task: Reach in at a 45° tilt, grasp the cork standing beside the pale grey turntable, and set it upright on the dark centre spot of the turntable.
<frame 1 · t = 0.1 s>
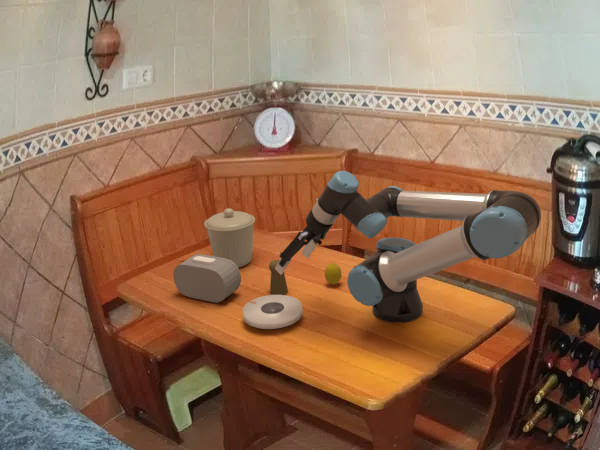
hand: (291, 263, 207), 15 cm above the table, tool tilted 35°, fingers open, 13 cm apart
lemon: (333, 285, 226), on the table
alarm clock: (209, 295, 225), on the table
turntable stand: (273, 319, 206), on the table
cork: (279, 292, 224), on the table
canister: (234, 263, 248), on the table
turntable: (272, 310, 205), point 3 cm above the table, hinge at 0.0°
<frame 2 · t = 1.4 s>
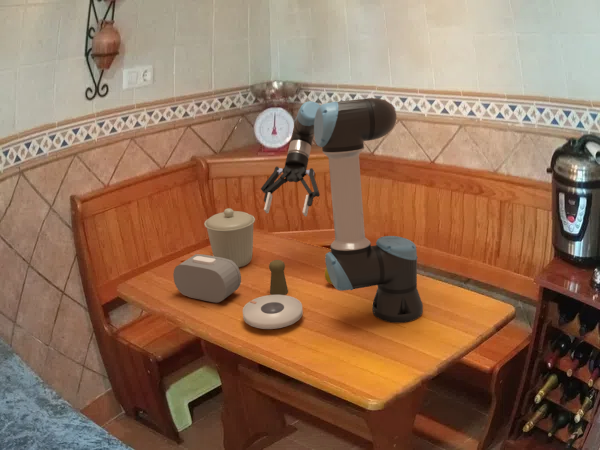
hand: (285, 213, 224), 24 cm above the table, tool tilted 45°, fingers open, 13 cm apart
nothing on the table moved.
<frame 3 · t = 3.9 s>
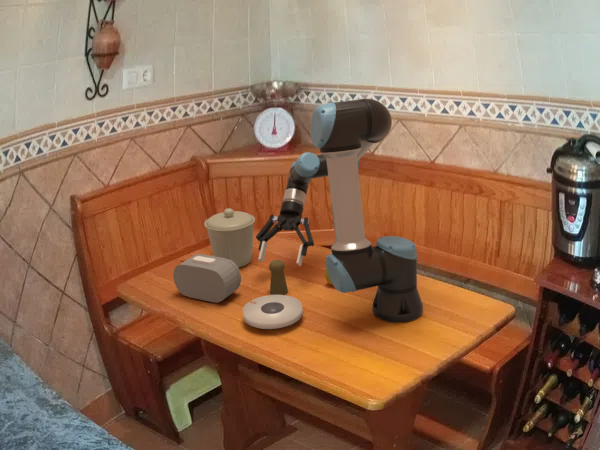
hand: (279, 262, 224), 9 cm above the table, tool tilted 45°, fingers open, 13 cm apart
nothing on the table moved.
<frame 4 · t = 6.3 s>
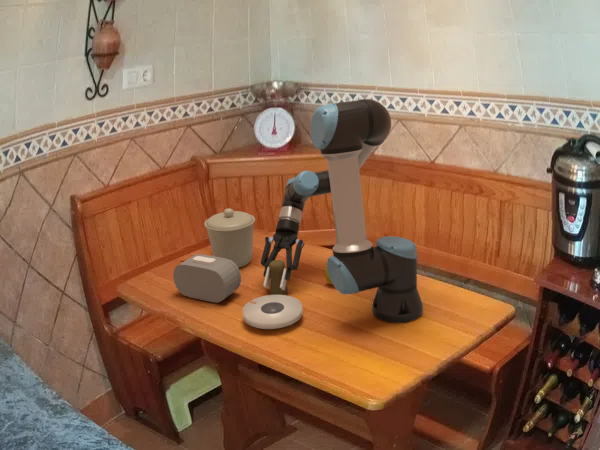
hand: (273, 287, 219), 3 cm above the table, tool tilted 45°, fingers closed on cork, 5 cm apart
cork: (279, 292, 224), on the table, touching gripper
everything else where it was.
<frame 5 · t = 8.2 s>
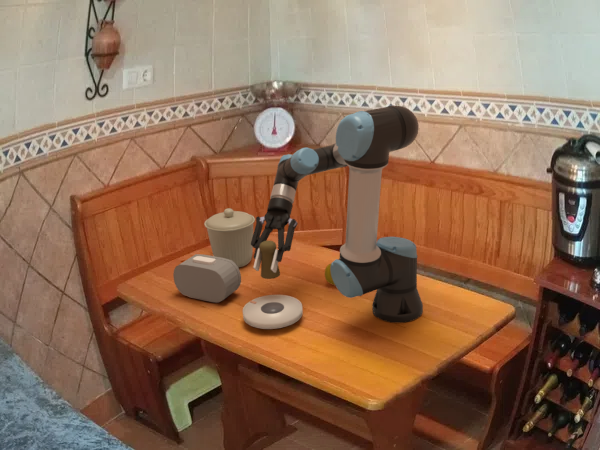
hand: (264, 270, 206), 14 cm above the table, tool tilted 45°, fingers closed on cork, 5 cm apart
cork: (270, 275, 210), point 11 cm above the table, touching gripper
everything else where it was.
when the fingers open (8 cm above the table, at t = 10.5 s): cork stays where it is, resting on turntable.
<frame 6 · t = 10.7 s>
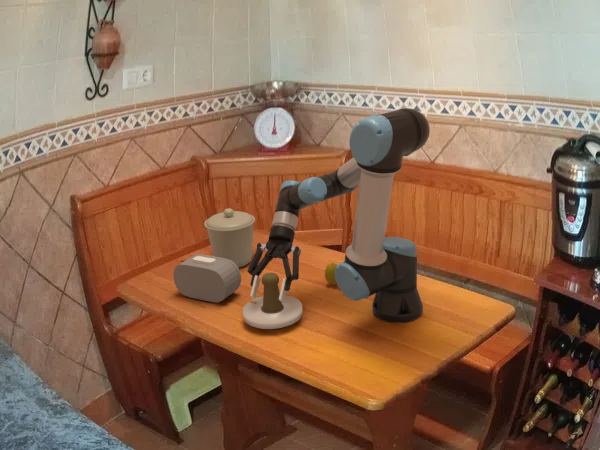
hand: (267, 299, 200), 9 cm above the table, tool tilted 45°, fingers open, 8 cm apart
cork: (272, 308, 204), point 4 cm above the table, touching turntable
turntable: (272, 310, 205), point 3 cm above the table, hinge at 0.0°, touching cork
everything else where it was.
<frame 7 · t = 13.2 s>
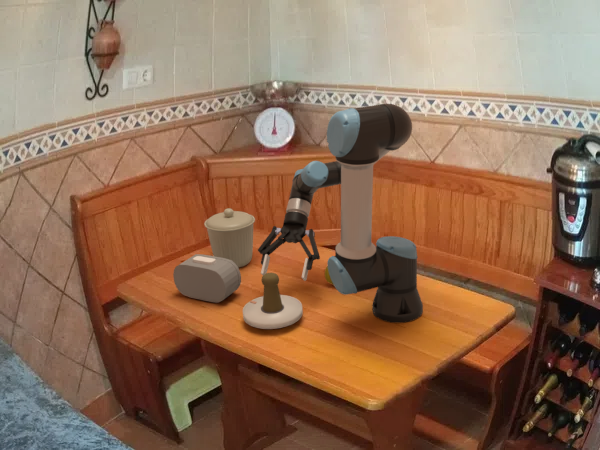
hand: (283, 277, 211), 10 cm above the table, tool tilted 45°, fingers open, 13 cm apart
nothing on the table moved.
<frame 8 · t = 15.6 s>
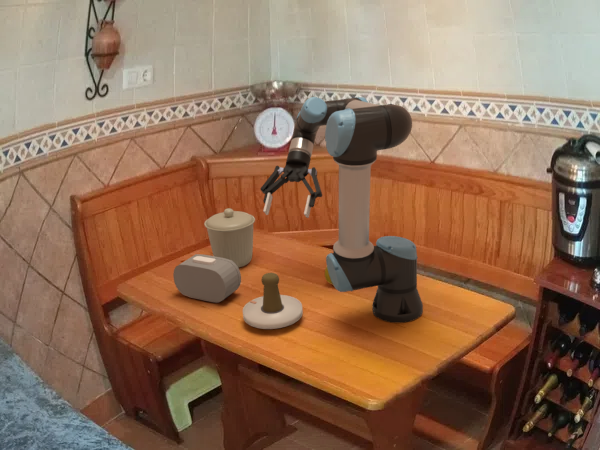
hand: (285, 214, 212), 28 cm above the table, tool tilted 45°, fingers open, 13 cm apart
nothing on the table moved.
at the end: cork 0.1 cm from the turntable (horizontally); cork tilted 0°; cork touching turntable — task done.
